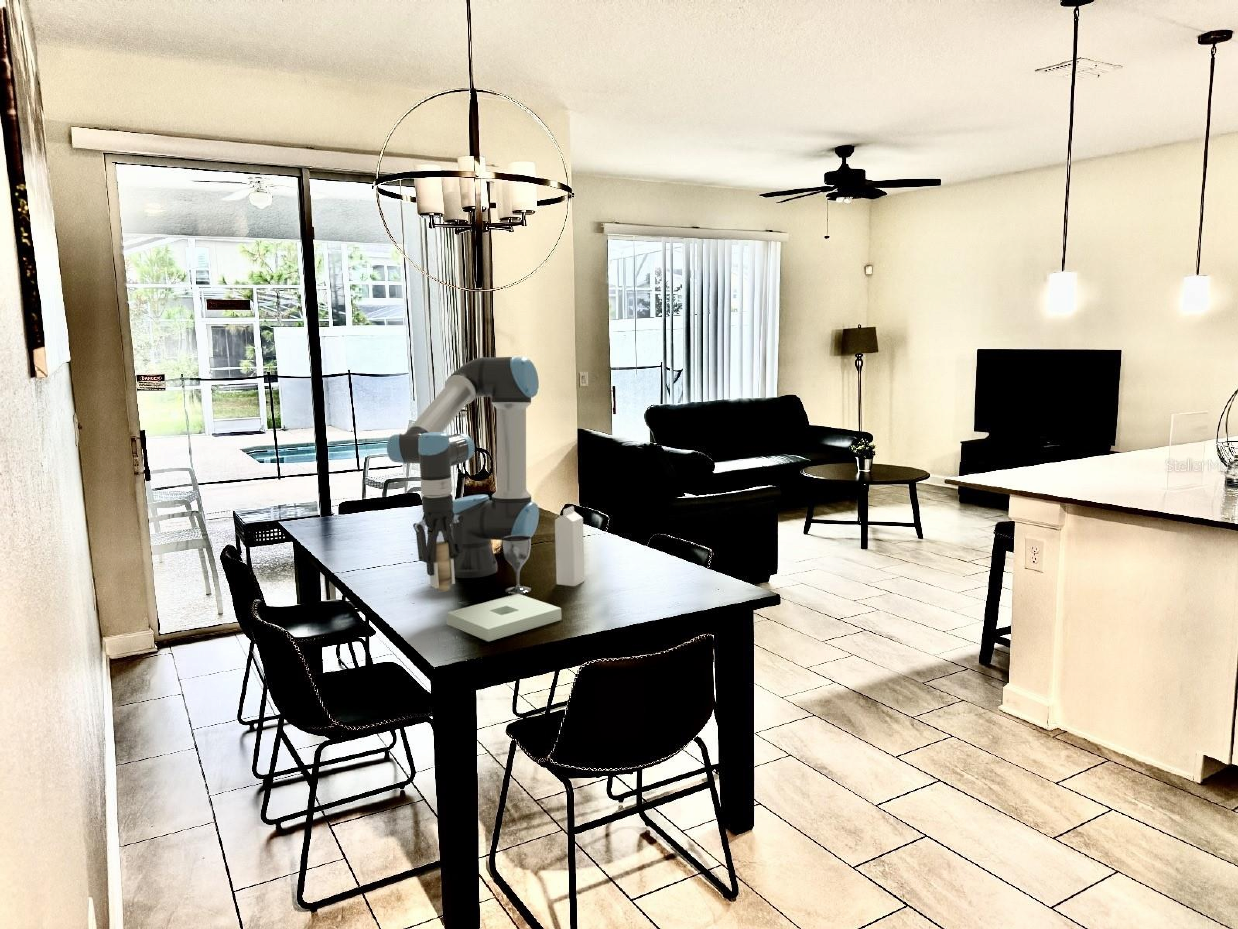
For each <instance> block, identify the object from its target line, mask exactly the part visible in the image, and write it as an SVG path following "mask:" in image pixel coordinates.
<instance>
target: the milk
mask: <svg viewBox="0 0 1238 929" xmlns="http://www.w3.org/2000/svg"><path fill="white" fill-rule="evenodd" d="M562 514H563V515H561V516H559V517H558V518H555V519H554V532H555V533H554V535H555V537H554V538H555V540H554V541H555V542H554V543H555V569H556V571H555V572H556V573H555V575H556V576H555V577H556V585H561V586H567V587H568V586H569V587H577V586H578V585H580V584H582V583H583V582H585V557H584V556H585V553H584V552H585V550H584V549H585V548H584V546H585V545H584V517H582V515H580V514H579V513H577V512H576V511H575V507H574V506H573V505H571V506H569V507H567V508H564V509H563V511H562Z"/></svg>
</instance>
